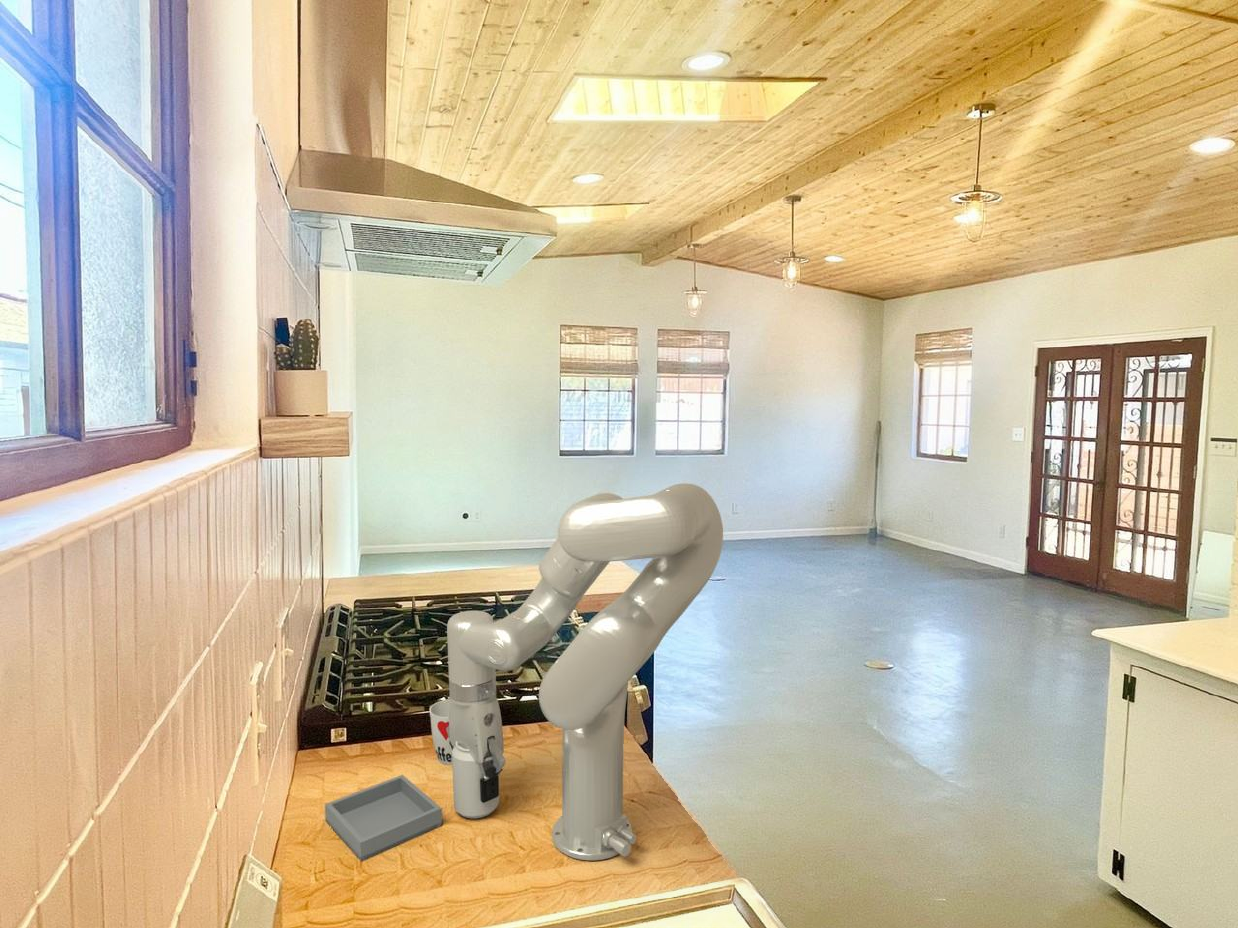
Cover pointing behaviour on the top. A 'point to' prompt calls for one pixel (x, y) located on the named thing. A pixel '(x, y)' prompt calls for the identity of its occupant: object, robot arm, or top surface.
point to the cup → (441, 731)
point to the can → (469, 785)
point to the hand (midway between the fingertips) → (476, 788)
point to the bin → (382, 816)
